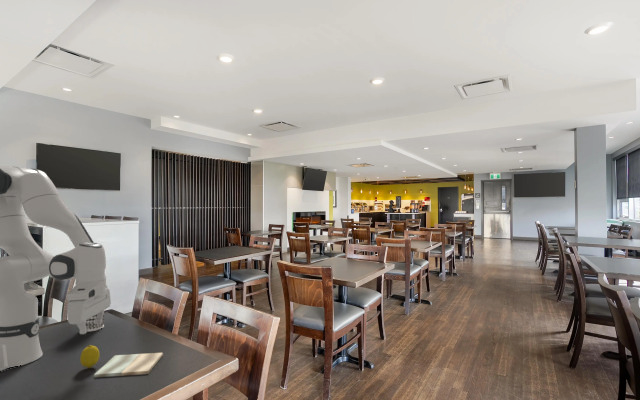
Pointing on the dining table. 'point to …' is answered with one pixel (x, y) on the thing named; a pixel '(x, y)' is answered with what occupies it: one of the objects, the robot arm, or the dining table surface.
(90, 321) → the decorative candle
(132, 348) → the dining table surface
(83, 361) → the lemon
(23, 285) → the robot arm
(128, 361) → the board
